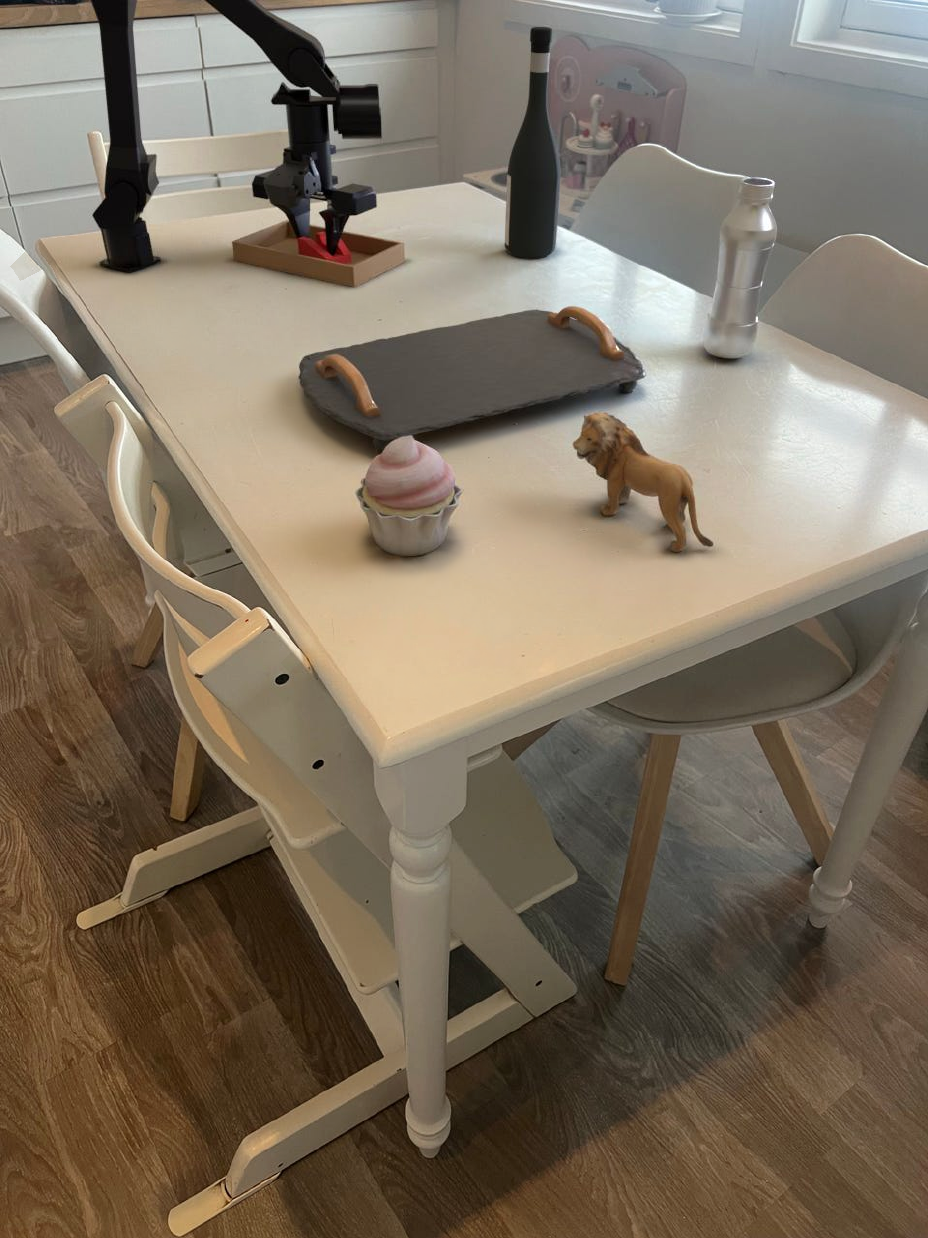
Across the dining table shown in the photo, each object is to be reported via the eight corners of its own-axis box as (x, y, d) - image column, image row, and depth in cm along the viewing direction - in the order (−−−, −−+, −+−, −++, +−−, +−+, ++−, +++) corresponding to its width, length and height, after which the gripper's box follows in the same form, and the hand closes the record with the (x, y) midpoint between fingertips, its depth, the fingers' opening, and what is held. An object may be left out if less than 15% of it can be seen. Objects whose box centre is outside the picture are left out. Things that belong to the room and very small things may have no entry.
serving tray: (359, 471, 94) (355, 413, 91) (276, 383, 110) (269, 330, 106) (667, 391, 110) (675, 339, 106) (555, 324, 125) (559, 277, 122)
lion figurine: (558, 505, 90) (566, 417, 84) (590, 483, 93) (599, 397, 87) (697, 563, 82) (715, 471, 77) (726, 538, 86) (746, 448, 80)
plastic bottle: (757, 348, 120) (793, 178, 107) (746, 368, 115) (782, 192, 103) (706, 340, 122) (735, 171, 110) (693, 359, 117) (722, 185, 105)
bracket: (299, 258, 145) (297, 238, 143) (323, 251, 147) (322, 231, 145) (326, 268, 141) (325, 247, 139) (351, 261, 144) (350, 240, 142)
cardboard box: (234, 260, 145) (231, 241, 143) (288, 237, 154) (287, 219, 152) (354, 287, 136) (353, 267, 134) (404, 261, 145) (404, 242, 143)
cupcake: (467, 565, 82) (469, 462, 76) (357, 569, 81) (350, 465, 75) (459, 508, 89) (460, 409, 83) (358, 511, 88) (351, 412, 82)
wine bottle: (494, 253, 149) (501, 27, 130) (521, 240, 154) (531, 22, 135) (538, 263, 145) (552, 33, 126) (564, 250, 150) (581, 26, 132)
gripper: (219, 140, 132) (234, 256, 142) (328, 159, 125) (336, 279, 135) (271, 126, 140) (281, 236, 150) (376, 143, 133) (380, 257, 143)
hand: (317, 252), depth 144 cm, fingers closed on bracket, 4 cm apart
